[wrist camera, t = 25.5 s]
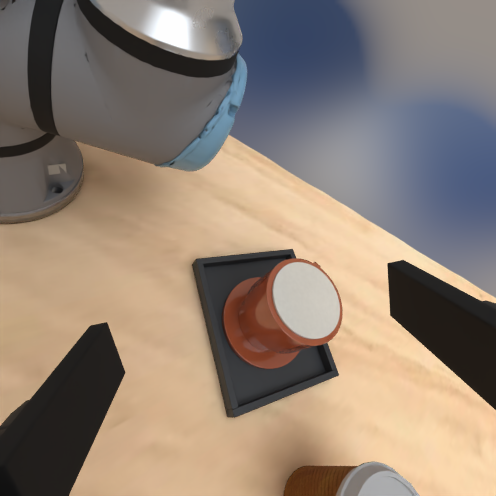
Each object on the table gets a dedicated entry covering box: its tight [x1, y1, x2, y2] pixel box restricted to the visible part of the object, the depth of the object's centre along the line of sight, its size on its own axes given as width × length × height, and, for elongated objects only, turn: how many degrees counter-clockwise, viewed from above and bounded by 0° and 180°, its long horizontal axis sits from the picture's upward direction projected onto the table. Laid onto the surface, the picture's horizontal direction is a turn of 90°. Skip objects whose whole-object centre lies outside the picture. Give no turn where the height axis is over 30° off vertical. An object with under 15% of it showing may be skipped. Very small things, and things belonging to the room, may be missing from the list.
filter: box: [222, 258, 342, 369], centre depth 36 cm, size 13×12×10 cm
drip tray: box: [192, 249, 339, 418], centre depth 40 cm, size 19×16×2 cm
